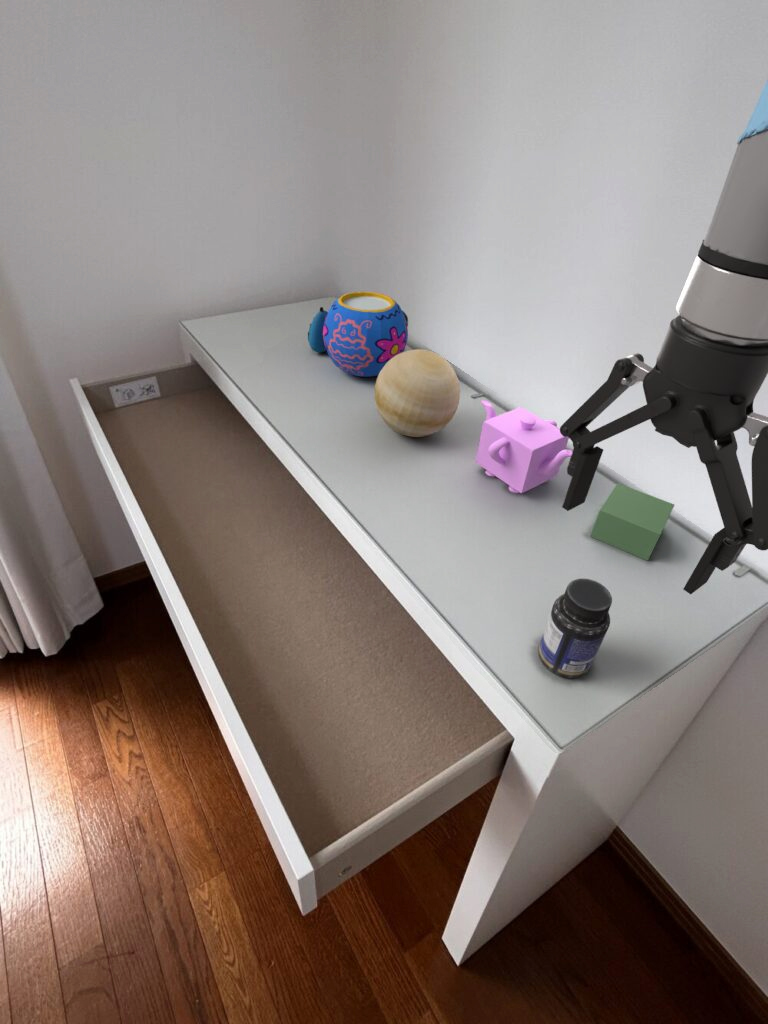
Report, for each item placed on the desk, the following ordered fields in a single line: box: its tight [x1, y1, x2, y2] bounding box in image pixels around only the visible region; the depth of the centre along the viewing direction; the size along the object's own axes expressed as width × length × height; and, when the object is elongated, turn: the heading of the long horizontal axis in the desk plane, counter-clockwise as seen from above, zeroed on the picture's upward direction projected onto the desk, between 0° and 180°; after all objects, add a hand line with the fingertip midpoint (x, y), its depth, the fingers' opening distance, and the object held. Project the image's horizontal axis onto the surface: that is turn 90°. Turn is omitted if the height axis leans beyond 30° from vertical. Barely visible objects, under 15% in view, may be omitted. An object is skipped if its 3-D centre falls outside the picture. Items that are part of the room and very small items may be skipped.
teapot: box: [475, 399, 573, 494], centre depth 92 cm, size 15×13×11 cm
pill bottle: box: [537, 578, 613, 679], centre depth 63 cm, size 6×6×11 cm
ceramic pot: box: [323, 291, 409, 378], centre depth 118 cm, size 18×18×15 cm
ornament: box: [307, 306, 328, 354], centre depth 126 cm, size 8×5×10 cm, turn 152°
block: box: [589, 482, 675, 561], centre depth 84 cm, size 8×8×5 cm
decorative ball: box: [374, 348, 461, 438], centre depth 100 cm, size 15×15×15 cm
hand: (629, 542), depth 55 cm, fingers open, 13 cm apart
